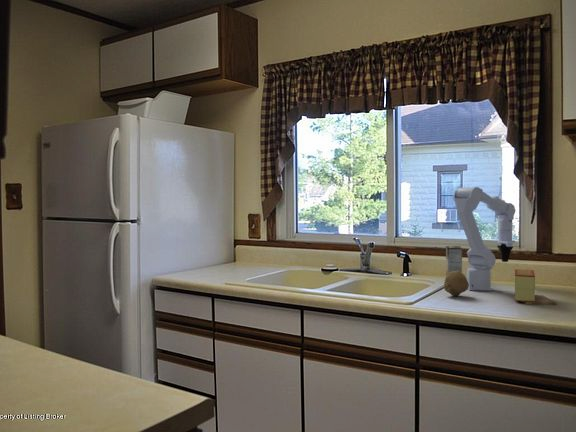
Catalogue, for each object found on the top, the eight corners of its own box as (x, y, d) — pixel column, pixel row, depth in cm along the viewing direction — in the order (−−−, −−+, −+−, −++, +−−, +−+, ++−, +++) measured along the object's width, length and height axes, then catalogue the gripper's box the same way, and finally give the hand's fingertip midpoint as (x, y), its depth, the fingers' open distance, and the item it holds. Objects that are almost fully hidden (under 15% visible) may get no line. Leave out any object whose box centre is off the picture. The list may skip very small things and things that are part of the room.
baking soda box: (533, 294, 196) (534, 302, 182) (514, 293, 199) (514, 301, 184) (533, 270, 196) (534, 276, 181) (514, 269, 199) (515, 275, 184)
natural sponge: (473, 296, 198) (473, 270, 197) (461, 299, 192) (461, 273, 192) (452, 293, 205) (452, 268, 204) (440, 296, 199) (440, 270, 198)
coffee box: (445, 280, 236) (445, 245, 236) (459, 280, 235) (459, 245, 234) (447, 283, 227) (447, 247, 227) (462, 283, 226) (462, 247, 225)
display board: (526, 304, 182) (526, 302, 182) (514, 296, 196) (514, 294, 196) (556, 304, 181) (556, 302, 181) (542, 297, 195) (542, 295, 195)
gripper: (519, 231, 212) (519, 263, 212) (509, 229, 226) (509, 259, 227) (502, 231, 213) (502, 263, 213) (493, 229, 227) (493, 259, 228)
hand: (504, 261), depth 220 cm, fingers closed
